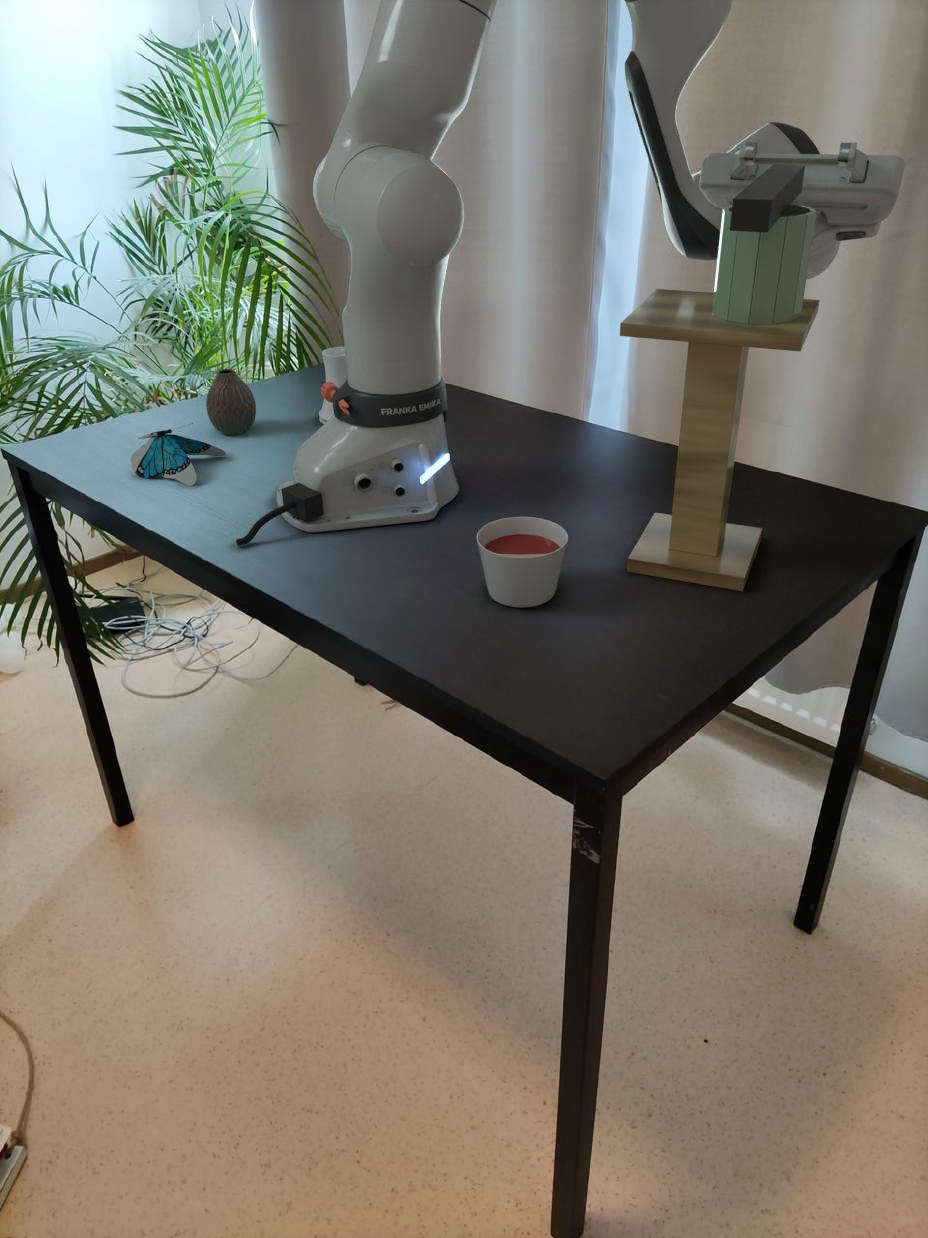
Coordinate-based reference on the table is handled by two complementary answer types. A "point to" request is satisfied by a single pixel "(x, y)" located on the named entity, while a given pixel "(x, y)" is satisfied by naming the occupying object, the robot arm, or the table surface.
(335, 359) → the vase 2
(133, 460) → the decorative butterfly
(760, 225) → the black bar
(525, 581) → the white sauce bowl
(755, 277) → the green cup
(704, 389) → the birch stand
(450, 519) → the table surface
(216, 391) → the vase
